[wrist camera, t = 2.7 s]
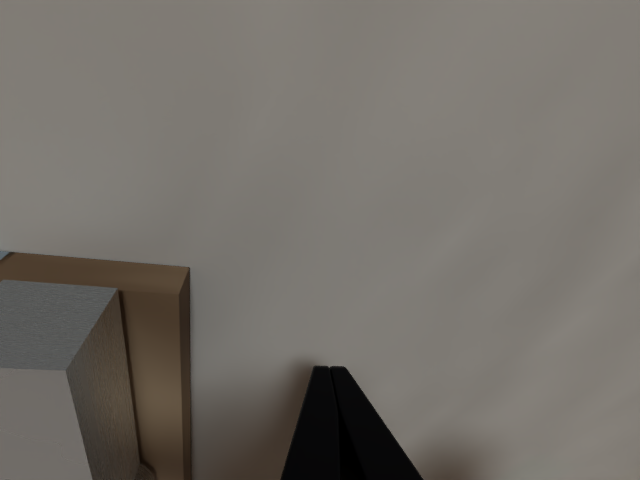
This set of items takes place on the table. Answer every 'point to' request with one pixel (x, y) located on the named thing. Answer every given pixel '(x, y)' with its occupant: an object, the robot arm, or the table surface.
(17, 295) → the latch bar
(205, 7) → the table surface
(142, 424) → the door panel
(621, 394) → the table surface
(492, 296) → the table surface
